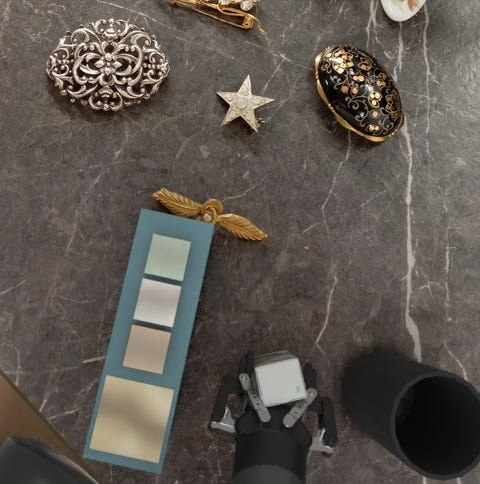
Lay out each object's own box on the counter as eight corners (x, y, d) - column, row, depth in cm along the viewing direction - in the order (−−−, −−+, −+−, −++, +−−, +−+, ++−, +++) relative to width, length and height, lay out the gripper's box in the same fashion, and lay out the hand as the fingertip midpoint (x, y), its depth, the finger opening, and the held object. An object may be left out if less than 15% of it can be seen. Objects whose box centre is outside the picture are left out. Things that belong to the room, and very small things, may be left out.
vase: (384, 450, 117) (450, 503, 88) (324, 397, 118) (369, 432, 89) (431, 386, 120) (511, 417, 91) (372, 334, 121) (431, 349, 92)
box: (286, 348, 111) (301, 355, 98) (294, 385, 110) (310, 397, 97) (244, 358, 110) (254, 366, 98) (252, 395, 109) (262, 409, 97)
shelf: (166, 431, 116) (161, 474, 89) (105, 418, 116) (82, 457, 89) (208, 238, 123) (214, 224, 95) (150, 226, 123) (141, 207, 95)
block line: (158, 462, 89) (157, 470, 85) (89, 447, 89) (85, 455, 85) (205, 246, 95) (206, 244, 91) (140, 232, 95) (138, 230, 91)
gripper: (348, 485, 88) (347, 352, 102) (204, 453, 88) (223, 325, 102) (329, 529, 92) (330, 395, 106) (191, 500, 91) (211, 369, 106)
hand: (278, 361), depth 104 cm, fingers closed on box, 6 cm apart
